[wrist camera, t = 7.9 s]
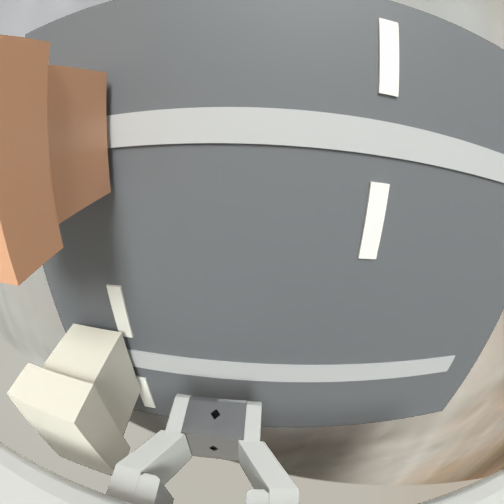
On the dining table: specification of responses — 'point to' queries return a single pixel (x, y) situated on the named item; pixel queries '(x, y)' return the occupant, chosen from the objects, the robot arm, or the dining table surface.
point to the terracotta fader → (46, 152)
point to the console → (290, 203)
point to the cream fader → (82, 397)
